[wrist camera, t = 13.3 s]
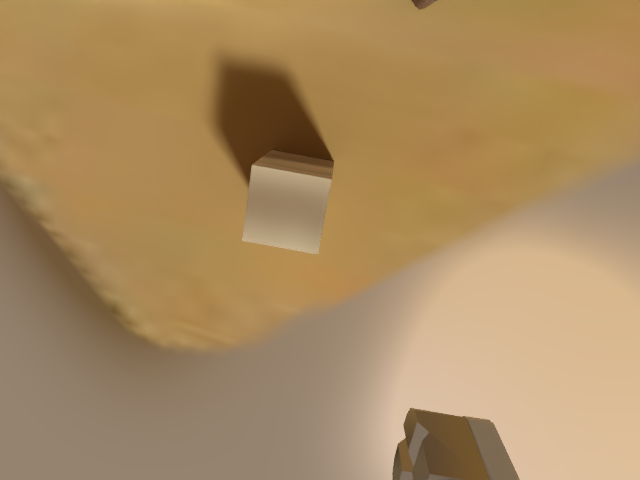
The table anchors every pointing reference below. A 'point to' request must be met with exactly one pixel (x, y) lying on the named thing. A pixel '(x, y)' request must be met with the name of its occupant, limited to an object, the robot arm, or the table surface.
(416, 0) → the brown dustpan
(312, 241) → the beige block
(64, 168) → the table surface
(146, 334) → the table surface
